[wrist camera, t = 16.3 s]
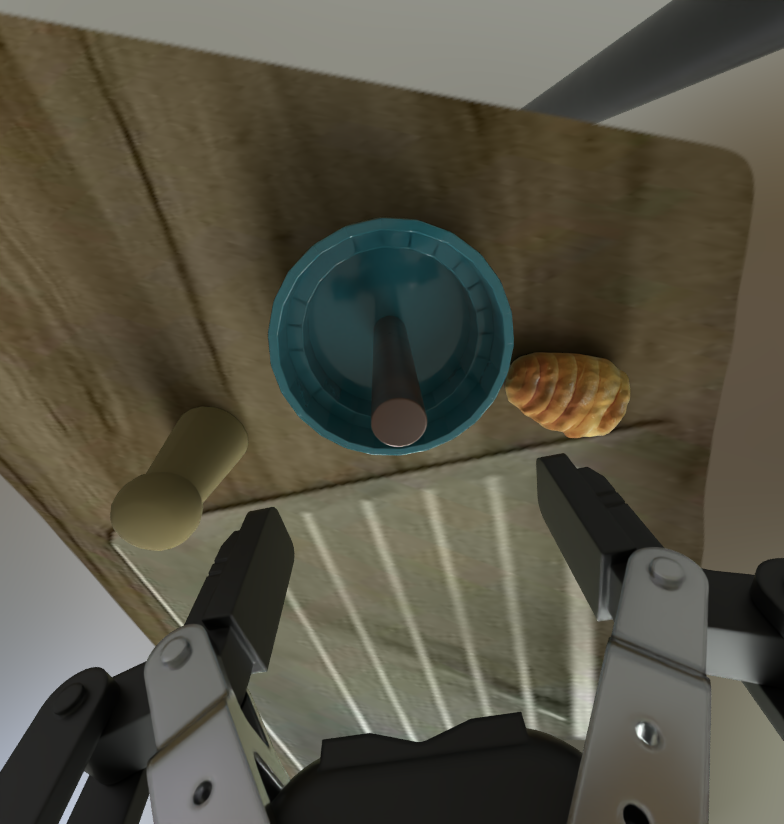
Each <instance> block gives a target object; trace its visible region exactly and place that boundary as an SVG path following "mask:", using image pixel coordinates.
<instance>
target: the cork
mask: <svg viewBox="0 0 784 824" xmlns="http://www.w3.org/2000/svg"><path fill="white" fill-rule="evenodd" d="M247 446H248V438H247V433H246V431H245V429H244V427H243V425H242V424H241V423H240V422H239V421H238V420H237V419H236V418H235V417H234V416H233V415H231V414H229V413H228V412H226V411H224V410H221V409H218V408H215V407H203V406H201V407H197V408H193V409H190V410H189V411H187V412H186V413H184V414H183V415H182V416H181V418H180V419H179V421H178V422H177V424H176V425H175V427H174V429H173V430H172V432H171V433H170V435H169V437H168V438H167V440H166V442H165V443H164V445H163V447H162V448H161V450H160V451H159V453H158V455H157V456H156V458H155V460H154V461H153V463H152V465H151V466H150V468H149V469H148V471H147V473H146V474H143V475H140V476H138V477H137V478H135V479H133V480H132V481H130V482H129V483H127V484H126V485H125V486H124V487H123V488H122V489H121V490H120V491H119V492H118V494H117V495H116V497H115V498H114V501H113V503H112V505H111V513H110V518H111V523H112V526H113V529H114V530H115V531H116V532H117V534H118V535H119V536H120V537H121V538H123V539H124V540H125V541H127V542H128V543H130V544H132V545H134V546H136V547H138V548H142V549H147V550H158V551H161V550H166V549H171V548H173V547H175V546H177V545H179V544H181V543H183V542H184V541H186V540H187V539H188V538H189V537H190V536H191V535H192V534H193V532H194V531H195V530H196V529H197V527H198V525H199V523H200V520H201V515H202V511H203V504H202V503H203V502H204V501H205V500H206V499H207V497H208V496H209V495H210V494H211V493H212V492H213V490H214V489H215V488H216V487H217V486H218V485H219V483H220V482H221V481H222V480H223V479H224V477H225V476H226V475H227V474H228V473H229V472H230V470H231V469H232V468H233V467H234V466H235V465H236V463H237V462H238V461H239V460H240V459H241V457H242V456H243V455H244V454H245V452H246V449H247Z"/></svg>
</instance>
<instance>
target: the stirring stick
mask: <svg viewBox="0 0 784 824" xmlns="http://www.w3.org/2000/svg"><path fill="white" fill-rule="evenodd" d="M371 427H372V431H373V433H374V434H375V436H376V437H377V438H378V439H379V440H380V441H381V442H383V443H385V444H387V445H390V446H394V447H402V446H407V445H410V444H412V443H414V442H416V441H417V440H418V439H420V437H421V436H422V435H423V434H424V432H425V430H426V427H427V416H426V411H425V407H424V403H423V399H422V395H421V390H420V386H419V382H418V378H417V374H416V369H415V365H414V361H413V357H412V353H411V349H410V344H409V340H408V336H407V332H406V328H405V325H404V323H403V322H402V321H401V320H400V319H399V318H397V317H394V316H386V317H383V318H381V319H380V320H379V321H378V322H377V323H376V325H375V327H374V341H373V373H372V404H371Z"/></svg>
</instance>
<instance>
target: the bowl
mask: <svg viewBox="0 0 784 824" xmlns="http://www.w3.org/2000/svg"><path fill="white" fill-rule="evenodd" d="M386 316H394V317H397V318H399V319H400V320H401V321H402V322H403V323H404V325H405V328H406V332H407V336H408V340H409V344H410V349H411V353H412V357H413V361H414V365H415V369H416V374H417V378H418V382H419V386H420V390H421V395H422V399H423V403H424V407H425V411H426V416H427V427H426V430H425V432H424V434H423V435H422V436H421V437H420V439H418V440H417V441H416V442H414V443H412V444H410V445H407V446H402V447H394V446H390V445H387V444H385V443H383V442H381V441H380V440H379V439H378V438H377V437H376V436H375V434H374V433H373V431H372V427H371V404H372V373H373V341H374V327H375V325H376V323H377V322H378V321H379V320H380V319H381V318H383V317H386ZM268 342H269V352H270V362H271V367H272V369H273V372H274V375H275V377H276V380H277V382H278V385H279V388H280V390H281V393H282V394H283V396H284V397H285V398H286V400H287V401H288V402H289V404H290V405H291V407H292V408H293V409H294V411H295V412H296V414H297V415H298V416H299V417H300V418H301V419H302V420H303V421H304V422H306V423H307V424H308V425H309V426H310V427H311V428H313V429H314V430H315V431H316V432H317V433H318V434H320V435H321V436H323V437H325V438H327V439H329V440H331V441H333V442H335V443H336V444H338V445H340V446H342V447H344V448H347V449H351V450H355V451H359V452H364V453H368V454H373V455H406V454H411V453H416V452H421V451H426V450H429V449H432V448H434V447H436V446H438V445H441V444H443V443H445V442H448V441H450V440H452V439H453V438H455V437H457V436H458V435H459V434H461V433H462V432H464V431H465V430H466V429H468V428H469V427H470V426H472V425H473V424H474V423H476V421H478V419H479V418H480V417H481V416H482V415H483V413H484V412H485V411H486V410H487V409H488V407H489V406H490V405H491V404H492V403H493V402H494V399H496V397H497V395H498V392H499V390H500V388H501V386H502V384H503V382H504V380H505V378H506V376H507V373H508V371H509V366H510V361H511V356H512V351H513V346H514V344H513V343H514V336H513V321H512V311H511V308H510V305H509V302H508V300H507V297H506V294H505V291H504V289H503V286H502V283H501V282H500V279H499V278H498V277H497V275H496V274H495V273H494V271H493V270H492V268H491V267H490V266H489V264H488V263H487V262H486V260H485V259H484V258H483V256H482V255H481V254H480V253H479V252H478V251H476V250H475V249H474V248H472V247H471V246H470V245H468V244H467V243H466V242H464V241H463V240H462V239H460V238H459V237H458V236H456V235H455V234H454V233H452V232H450V231H447V230H444V229H442V228H439V227H436V226H433V225H431V224H428V223H425V222H423V221H420V220H416V219H411V218H397V217H376V218H372V219H368V220H364V221H360V222H355V223H351V224H349V225H347V226H345V227H343V228H341V229H339V230H338V231H336V232H334V233H332V234H331V235H329V236H327V237H326V238H324V239H322V240H320V241H319V242H317V243H315V244H314V245H313V246H311V247H310V249H309V250H308V251H307V252H306V253H305V254H304V255H303V256H302V257H301V258H300V259H299V260H298V261H297V262H296V263H295V265H294V266H293V267H292V268H291V269H290V270H289V271H288V273H287V275H286V277H285V279H284V281H283V283H282V285H281V287H280V289H279V291H278V293H277V295H276V297H275V299H274V302H273V307H272V312H271V318H270V323H269V329H268Z"/></svg>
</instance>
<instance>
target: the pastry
mask: <svg viewBox="0 0 784 824" xmlns="http://www.w3.org/2000/svg"><path fill="white" fill-rule="evenodd" d="M505 390H506V393H507V397H508V400H509V401H510V402H511V403H513V404H514V405H515V406H517V407H518V408H519V409H520V410H521V411H522V413H523V414H525V415H526V416H529V417H531V418H532V419H533V420H535V421H536V422H538V423H539V424H540V425H541V426H542V427H544V428H546V429H550V430H556V431H562V432H564V434H565V435H566V436H567V437H570V438H580V437H584V436H587V437H590V436H596V435H601V436H602V435H605V434H607V433H609V432H610V431H612V430H613V428H614V427H616V426H617V424H618V423H619V422H620V420H621V419H622V418H623V416H624V415H625V413H626V407H627V404H628V402H629V399H630V386H629V379H628V376H627V375H626V373H624V372H623V371H621V370H619V369H618V368H616V366H615V365H614V364H613V363H612V362H610V361H609V360H607V359H604V358H598V357H593V356H589V355H582V354H573V353H545V352H537V353H532V354H528V355H524V356H521V357H519V358H517V359H516V360H515V361H513V363H512V364H511V366H510V368H509V371H508V373H507V376H506V383H505Z"/></svg>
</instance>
